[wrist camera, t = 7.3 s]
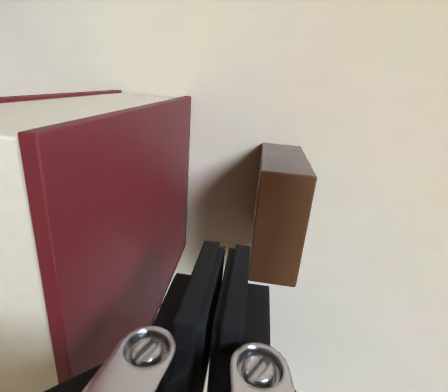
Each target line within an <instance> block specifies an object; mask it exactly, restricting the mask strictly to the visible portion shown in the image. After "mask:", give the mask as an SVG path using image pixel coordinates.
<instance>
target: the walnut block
mask: <svg viewBox="0 0 448 392" xmlns="http://www.w3.org/2000/svg"><path fill="white" fill-rule="evenodd" d="M316 181H317V176H316V174H315V173H314V171H313V169H312V167H311V165H310V163H309V162H308V160H307V158H306V156H305V154H304V152H303V151H302V149H301V147H299V146H289V145H280V144H270V143H263V144H262V152H261V160H260V168H259V176H258V184H257V192H256V200H255V208H254V216H253V225H252V236H251V250H250V261H249V273H248V280H249V281H255V282H262V283H269V284H276V285H283V286H290V287H295V286H296V282H297V277H298V272H299V267H300V262H301V257H302V252H303V247H304V242H305V236H306V231H307V226H308V221H309V216H310V211H311V206H312V201H313V196H314V191H315V186H316Z"/></svg>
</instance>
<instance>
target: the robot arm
mask: <svg viewBox="0 0 448 392" xmlns="http://www.w3.org/2000/svg"><path fill="white" fill-rule="evenodd" d="M250 250H251V247H250V246H243V245H236V247H235V248H229V252H228V257H227V261H226V266H225V271H224V275H223V265H224V254H225V247H220V242H213V241H204V243H203V246H202V248H201V251H200V253H199V256H198V259H197V261H196V264H195V266H194V269H193V272H192V274H191V275H186V274H179V273H177V274H176V275H175V277H174V279H173V281H172V284H171V286H170V288H169V290H168V292H167V294H166V296H165V299H164V301H163V303H162V305H161V307H160V309H159V311H158V314H157V316H156V318H155V320H154V322H153V324H152V326H143V327H140V328H137V329H134V330H133V331H131V332H129V333H128V334H127V335H126V336H125V337H124V338H123V339H122V340H121V341H120V342H119V344H118V345H117V346H116V347H115V349H114V350H113V351H112V353H111V354H110V355H109V357H108V358H107V359H106V360H105V362H104V363H102V364H100V365H98V366H96V367H94V368H92V369H90V370H88V371H85V372H83V373H81V374H79V375H77V376H75V377H73V378H71V379H69V380H67V381H64V382H62V383H60V384H58V385H56V386H54V387H52V388H50V389H48V390H46V391H43V392H203V390H204V385H205V380H206V375H207V370H208V365H209V373H208V385H207V392H296V391H295V390H294V386H293V382H292V378H291V374H290V370H289V367H288V364H287V362H286V360H285V358H284V357H283V356H282V355H281V353H280V352H278V351H277V350H276V349H274V348H273V347H271V346H270V309H269V286H262V285H256V284H249V283H248V273H249V261H250ZM222 276H223V280H222ZM209 360H210V361H209Z"/></svg>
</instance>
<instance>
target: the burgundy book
mask: <svg viewBox="0 0 448 392" xmlns="http://www.w3.org/2000/svg"><path fill="white" fill-rule="evenodd" d="M190 112H191V97H190V96H184V97H179V98H171V97H160V96H149V95H137V94H126V93H121V90H107V91H91V92H75V93H58V94H42V95H26V96H10V97H0V392H43V391H46V390H48V389H50V388H52V387H54V386H56V385H58V384H60V383H62V382H64V381H67V380H69V379H71V378H73V377H75V376H77V375H79V374H81V373H83V372H85V371H88V370H90V369H92V368H94V367H96V366H98V365H100V364H102V363H104V362H105V360H106V359H107V358H108V357H109V355H110V354H111V353H112V351H113V350H114V349H115V347H116V346H117V345H118V344H119V342H120V341H121V340H122V339H123V338H124V337H125V336H126V335H127V334H128V333H129V332H131V331H133V330H134V329H137V328H140V327H143V326H152V324H153V322H154V320H155V317H156V315H157V312H158V310H159V308H160V305H161V303H162V300H163V298H164V296H165V293H166V291H167V288H168V286H169V284H170V281H171V279H172V276H173V274H174V272H175V269H176V267H177V264H178V262H179V260H180V257H181V255H182V252H183V250H184V248H185V245H186V218H187V192H188V165H189V139H190Z"/></svg>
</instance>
